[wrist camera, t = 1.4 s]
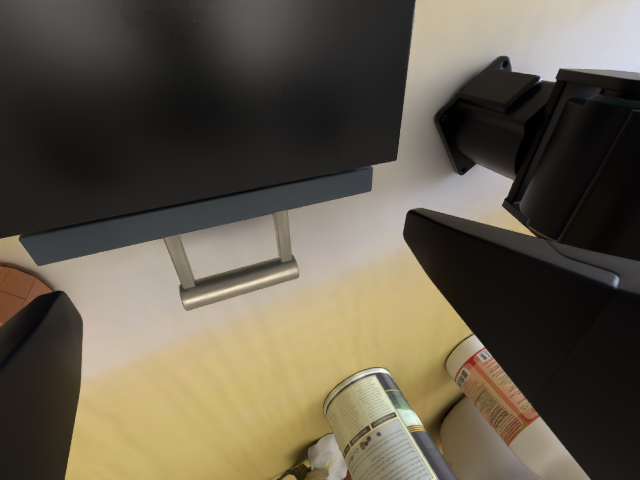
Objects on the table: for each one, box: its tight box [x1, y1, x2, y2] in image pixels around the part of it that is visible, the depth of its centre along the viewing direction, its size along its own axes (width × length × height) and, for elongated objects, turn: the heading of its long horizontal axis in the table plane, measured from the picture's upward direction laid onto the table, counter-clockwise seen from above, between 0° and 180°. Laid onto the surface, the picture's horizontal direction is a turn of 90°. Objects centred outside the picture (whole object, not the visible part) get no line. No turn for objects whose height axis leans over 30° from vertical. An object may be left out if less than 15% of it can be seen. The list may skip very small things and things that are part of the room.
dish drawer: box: [19, 166, 373, 311], centre depth 12 cm, size 21×13×7 cm, turn 2°
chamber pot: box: [440, 396, 541, 480], centre depth 57 cm, size 28×28×21 cm
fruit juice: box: [446, 335, 590, 480], centre depth 38 cm, size 9×9×28 cm
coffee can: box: [323, 368, 458, 480], centre depth 37 cm, size 10×10×14 cm
